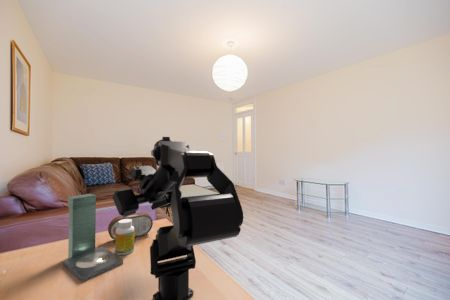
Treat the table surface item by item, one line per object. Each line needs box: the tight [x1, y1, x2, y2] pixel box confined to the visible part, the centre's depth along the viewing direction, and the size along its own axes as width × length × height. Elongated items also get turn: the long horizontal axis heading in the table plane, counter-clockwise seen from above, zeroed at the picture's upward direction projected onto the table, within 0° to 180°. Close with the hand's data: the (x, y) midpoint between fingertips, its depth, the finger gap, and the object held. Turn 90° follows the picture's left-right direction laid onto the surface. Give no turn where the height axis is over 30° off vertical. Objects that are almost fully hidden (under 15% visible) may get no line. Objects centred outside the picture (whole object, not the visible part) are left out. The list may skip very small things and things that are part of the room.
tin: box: [107, 212, 154, 241], centre depth 74 cm, size 15×3×8 cm, turn 124°
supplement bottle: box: [114, 219, 135, 256], centre depth 64 cm, size 5×5×10 cm
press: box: [63, 193, 124, 283], centre depth 59 cm, size 24×10×18 cm, turn 55°
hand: (138, 212), depth 59 cm, fingers open, 9 cm apart
